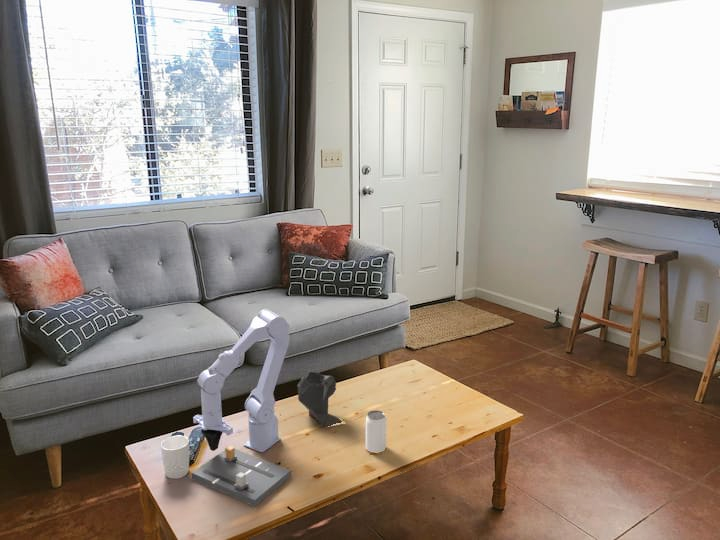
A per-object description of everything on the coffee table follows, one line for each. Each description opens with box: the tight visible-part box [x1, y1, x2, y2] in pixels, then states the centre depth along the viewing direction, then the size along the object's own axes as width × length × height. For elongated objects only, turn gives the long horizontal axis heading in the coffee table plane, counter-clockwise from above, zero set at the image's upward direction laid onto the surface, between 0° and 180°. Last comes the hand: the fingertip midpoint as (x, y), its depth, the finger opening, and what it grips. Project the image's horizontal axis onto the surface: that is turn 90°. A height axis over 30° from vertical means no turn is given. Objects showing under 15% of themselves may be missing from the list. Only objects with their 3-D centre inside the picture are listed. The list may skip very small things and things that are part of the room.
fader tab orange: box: [223, 445, 237, 462], centre depth 178 cm, size 3×3×4 cm
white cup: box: [160, 434, 190, 480], centre depth 174 cm, size 8×8×10 cm
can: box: [365, 410, 387, 453], centre depth 187 cm, size 6×6×12 cm
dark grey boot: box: [296, 369, 342, 429], centre depth 205 cm, size 14×15×18 cm
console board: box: [190, 448, 292, 507], centre depth 173 cm, size 16×24×2 cm
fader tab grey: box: [234, 472, 249, 490], centre depth 165 cm, size 3×3×4 cm
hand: (214, 448), depth 181 cm, fingers closed
